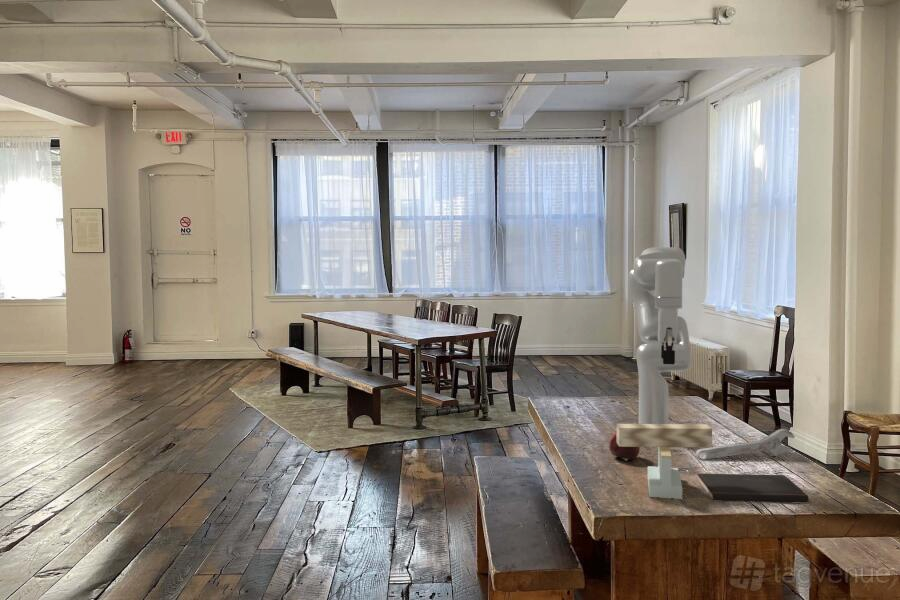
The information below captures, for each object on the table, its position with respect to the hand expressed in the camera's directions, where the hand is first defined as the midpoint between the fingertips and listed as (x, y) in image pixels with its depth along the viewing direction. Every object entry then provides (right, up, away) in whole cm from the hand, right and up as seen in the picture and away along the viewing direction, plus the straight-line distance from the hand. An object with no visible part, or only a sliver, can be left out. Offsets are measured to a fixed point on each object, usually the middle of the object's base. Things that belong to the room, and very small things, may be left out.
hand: (667, 361), depth 204 cm
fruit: (-11, -30, +7) cm, 33 cm away
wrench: (+25, -30, +7) cm, 40 cm away
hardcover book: (+15, -33, -21) cm, 42 cm away
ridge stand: (-7, -32, -18) cm, 37 cm away
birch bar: (-6, -21, -17) cm, 28 cm away
